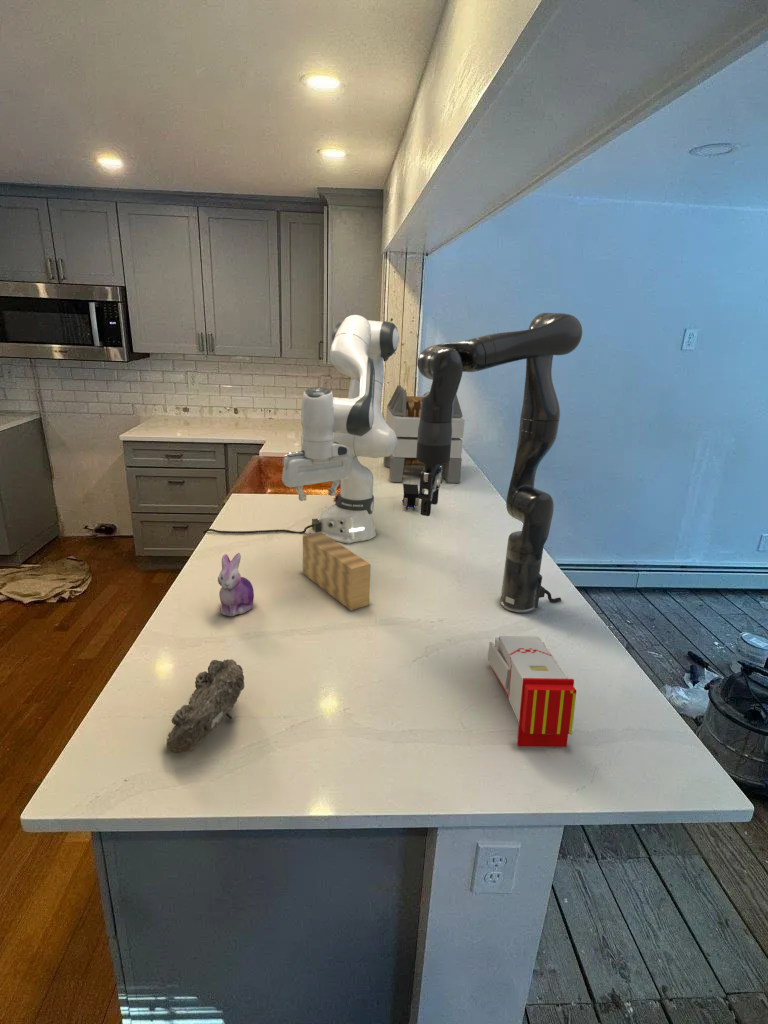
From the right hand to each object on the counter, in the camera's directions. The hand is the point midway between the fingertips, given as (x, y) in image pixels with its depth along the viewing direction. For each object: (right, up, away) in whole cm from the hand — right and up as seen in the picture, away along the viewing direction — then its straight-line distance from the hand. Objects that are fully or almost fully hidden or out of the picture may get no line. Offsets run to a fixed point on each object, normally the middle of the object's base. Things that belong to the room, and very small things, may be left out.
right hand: (429, 509), depth 131 cm
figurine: (-48, -26, +16) cm, 57 cm away
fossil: (-43, -40, -23) cm, 63 cm away
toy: (+18, -39, -14) cm, 46 cm away
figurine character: (0, +2, +97) cm, 97 cm away
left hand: (-29, +3, +27) cm, 40 cm away
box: (-24, -22, +29) cm, 44 cm away
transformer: (+7, +18, +144) cm, 145 cm away
